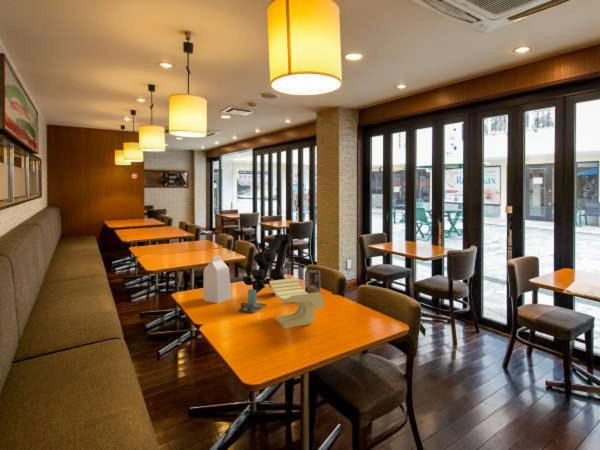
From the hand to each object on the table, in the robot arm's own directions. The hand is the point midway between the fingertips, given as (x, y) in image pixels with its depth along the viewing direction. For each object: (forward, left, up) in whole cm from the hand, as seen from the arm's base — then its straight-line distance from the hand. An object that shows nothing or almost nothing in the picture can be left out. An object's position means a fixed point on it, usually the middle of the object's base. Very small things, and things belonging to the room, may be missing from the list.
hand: (253, 294), depth 203 cm
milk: (-20, -22, -7) cm, 30 cm away
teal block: (+4, -2, -6) cm, 8 cm away
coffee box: (-15, +35, -7) cm, 39 cm away
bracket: (+1, -1, -7) cm, 7 cm away
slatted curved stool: (+24, +20, -7) cm, 33 cm away
